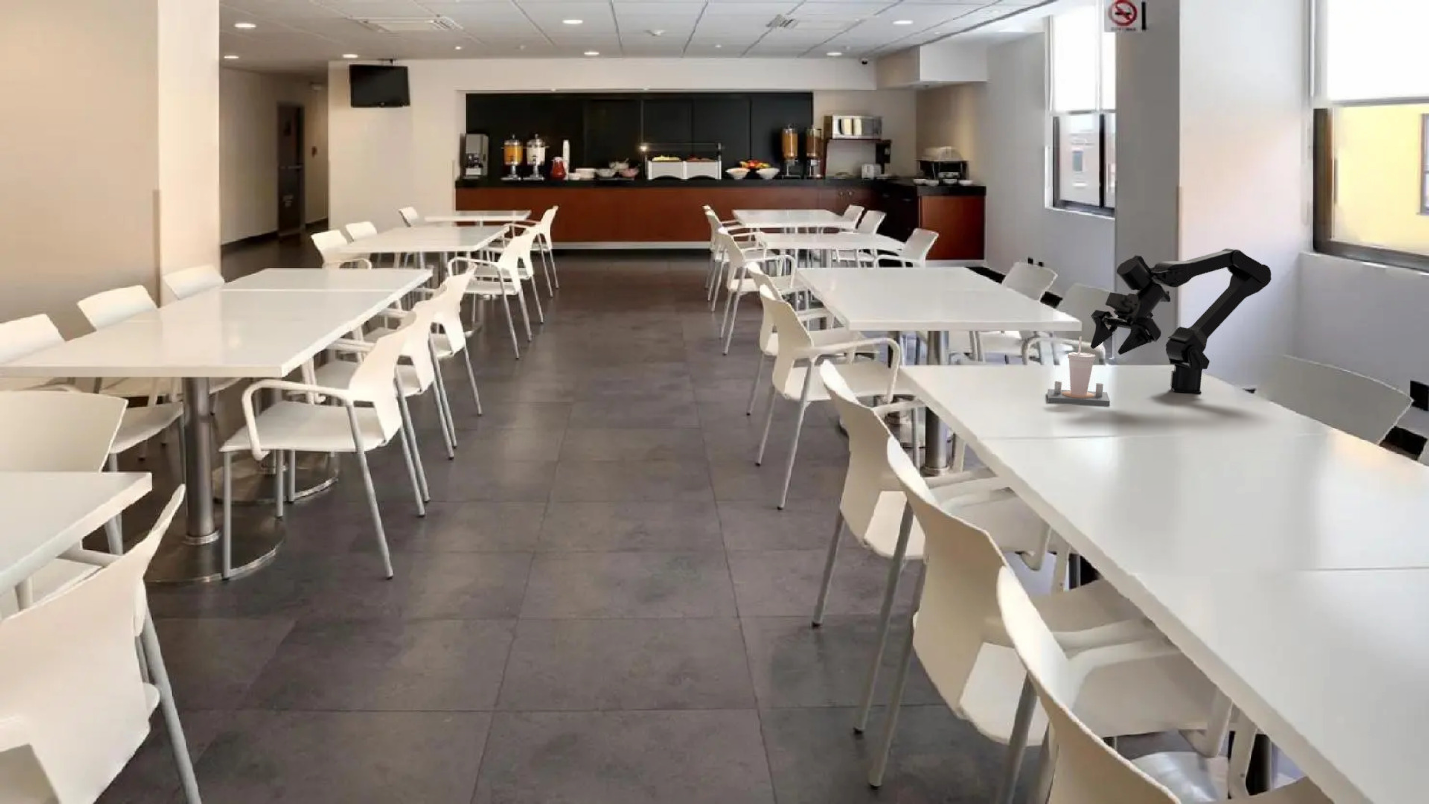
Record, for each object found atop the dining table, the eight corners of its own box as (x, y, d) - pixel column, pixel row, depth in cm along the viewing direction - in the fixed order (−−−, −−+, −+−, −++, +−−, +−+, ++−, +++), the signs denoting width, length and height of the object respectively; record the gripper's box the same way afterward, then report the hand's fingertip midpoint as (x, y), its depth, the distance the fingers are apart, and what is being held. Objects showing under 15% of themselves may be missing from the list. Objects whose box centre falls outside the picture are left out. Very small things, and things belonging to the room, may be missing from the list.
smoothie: (1062, 391, 298) (1066, 334, 295) (1088, 391, 298) (1092, 334, 295) (1068, 396, 292) (1073, 338, 289) (1095, 396, 291) (1100, 338, 289)
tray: (1106, 397, 298) (1107, 380, 298) (1109, 406, 288) (1110, 388, 287) (1047, 393, 302) (1048, 377, 301) (1048, 402, 291) (1049, 385, 290)
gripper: (1099, 277, 303) (1062, 323, 300) (1156, 284, 286) (1117, 333, 284) (1121, 307, 308) (1084, 353, 305) (1178, 316, 291) (1139, 365, 289)
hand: (1105, 350), depth 296 cm, fingers open, 9 cm apart
